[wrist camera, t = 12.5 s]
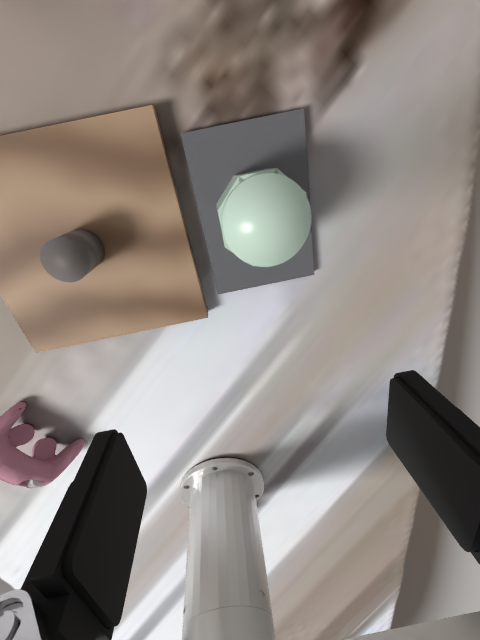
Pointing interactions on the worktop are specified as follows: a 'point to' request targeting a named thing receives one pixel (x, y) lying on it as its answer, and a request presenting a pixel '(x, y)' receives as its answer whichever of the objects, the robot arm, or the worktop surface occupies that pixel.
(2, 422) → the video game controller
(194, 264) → the post stand
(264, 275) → the mat
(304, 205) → the cap
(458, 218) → the worktop surface
